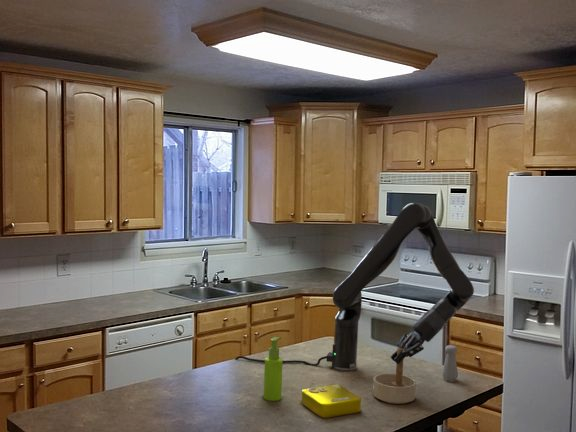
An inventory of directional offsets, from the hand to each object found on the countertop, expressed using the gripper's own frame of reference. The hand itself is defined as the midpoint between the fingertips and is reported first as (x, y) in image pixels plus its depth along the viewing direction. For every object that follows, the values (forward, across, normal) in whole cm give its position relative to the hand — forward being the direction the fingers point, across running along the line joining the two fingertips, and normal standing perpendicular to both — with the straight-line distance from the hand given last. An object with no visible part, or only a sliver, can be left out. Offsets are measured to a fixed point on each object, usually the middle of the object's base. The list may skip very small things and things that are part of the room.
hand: (394, 360), depth 199 cm
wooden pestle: (+6, 0, +9) cm, 11 cm away
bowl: (+9, 0, +10) cm, 13 cm away
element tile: (+26, +6, -7) cm, 28 cm away
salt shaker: (-11, -15, +30) cm, 35 cm away
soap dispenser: (+38, -5, -20) cm, 43 cm away
